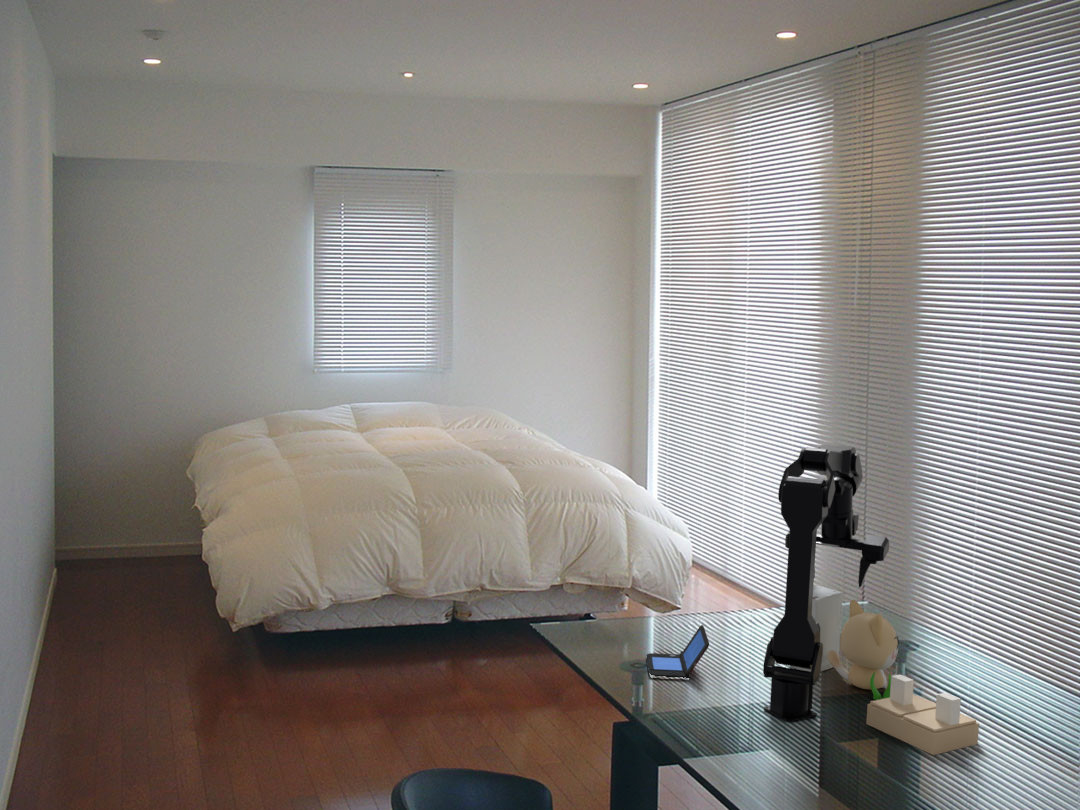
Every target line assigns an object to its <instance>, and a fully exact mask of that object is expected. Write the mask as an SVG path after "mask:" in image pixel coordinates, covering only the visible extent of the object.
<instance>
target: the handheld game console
mask: <svg viewBox="0 0 1080 810" xmlns="http://www.w3.org/2000/svg"><path fill="white" fill-rule="evenodd" d="M705 629H706V628H705V627H704V625H703V624H701V625H700V626H699V627H698V628H697V630H696V632H694V634H693V636H692V637H691V638H690V640H689V642H687V645H686V646H685V647H684V649H683V650H682V651H680V653H679V654H677V653H655V652H654V653H651V652H650V653H647V654H646V656H647V658H646V662H647V661H648V665H647V669H648V668H649V672H648V674H649V673H650V674H651V675H655V676H666V677H683V678H684V677H686V678H690V679H691V675H690V674H691V673H692V672H693V670H694V669H695V668H696V666H697V664H699V661H701V659H702V658H703V656H704V655H705V653H706V651H707V650H708V648H709V647H710V646H709V645H710V641H709V638H708V636H707V633H706V630H705Z"/></svg>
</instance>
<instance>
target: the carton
mask: <svg viewBox="0 0 1080 810" xmlns="http://www.w3.org/2000/svg"><path fill="white" fill-rule="evenodd" d="M866 725H868V726H870V727H872V728H874V729H876V730H878V731H880V732H883V733H885V734H887V735H889V736H892V737H894V738H896V739H898V740H900V741H902V742H905V743H907V744H909V745H911V746H913V747H915V748H918V749H919V750H921V751H924V752H926V753H928V754H930V755H931V756H935V755H939V754H944V753H946V752H947V753H948V752H951V751H955V750H961V749H964V748H968V747H971V746H973V747H974V746H976V745H978V744H979V730H980V723H979V722H977V721H976V723H972V724H968V725H963V726H959V727H955V728H950V729H946V730H942V731H937V732H933V731H931V730H929V729H926V728H924V727H922V726H920V725H917V724H915V723H913V722H910V721H908V720H906V719H904V718H903V716H902V717H899V716H897V715H895V714H892V713H890V712H888V711H886V710H883V709H881V708H879V707H876V706H874V705H872V704H870V703H867V709H866Z"/></svg>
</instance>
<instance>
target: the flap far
mask: <svg viewBox="0 0 1080 810" xmlns="http://www.w3.org/2000/svg"><path fill="white" fill-rule="evenodd" d="M914 681H915V680H914V679H913V678H910V677H908V676H905V675H902V674H896V675H894V674H893V675H891V688H890V698H885V699H879V700H876V699H874V700H871V701H870V703H869V704H872V705H874V706H876V707H879V708H881V709H883V710H886V711H888V712H890V713H892V714H895V715H897V716H899V717H902V716H904V715H908V714H913V713H918V712H922V711H927V710H932V709H936V702H933V701H931V700H928V699H926V698H924V697H921V696H919V695H916V694H915V693H914V686H915V685H914V683H915V682H914Z"/></svg>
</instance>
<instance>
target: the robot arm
mask: <svg viewBox="0 0 1080 810" xmlns="http://www.w3.org/2000/svg"><path fill="white" fill-rule="evenodd" d="M856 452H857V450H856V448H855V447H854V446H844V445H843V446H842V445H834V444H832V445H831V444H822V445H820V446H818V447H809V446H807V447H805V448H804V447H803V448H801V450H800V453H799V456H798V458H797V459H796V460H795V461H793V462H792V463H791V464H790V465H788V466H787V467H786V468H785V469H784V471H783V474H782V477H781V481H780V483H779V487H778V495H777V496H778V501H779V503H780V514H781V516H782V518H783V520H784V522H785V524H786V526H787V528H788V529H789V531H788V532H787V534H786V535H785V538H784V539H785V541H784V542H785V548H786V549H788V551H787V565H786V566H787V569H786V586H785V601H784V603H785V604H784V614H783V617H782V618H781V619H780V621H779V622H778V623H777V624H776V626H775V628H774V630H773V635H772V636H771V637H770V641H769V642H768V643H767V646H766V651H765V655H764V660H763V668H762V669H763V670H762V674H763V677H764V678H766V679H767V678H769V679H770V678H771V680H770V681H771V683H770V699H769V700H770V703H769V705H765V706H763V710H764V711H766V712H768V713H769V714H771V715H774V716H775V717H777V718H779V719H782V720H784V721H785V722H789V723H791V722H796V721H800V720H805V719H810V718H811V719H812V718H816V717H818V713H817V712H816V711H813V710H812V709H813V696H814V686H815V685H816V684H817V682H818V681H819V680H820V678H821V672H822V671H821V663H822V655H823V644H822V643H820V629H821V628H820V625H819V623H816V622H815V620H814V618H813V616H812V601H813V587H814V585H815V584H814V583H815V582H814V581H815V576H816V569H815V568H816V566H815V563H816V548H817V545H820V546H826V547H833V548H843V549H849V550H856V551H861V556H862V557H861V558H860V560H859V570H858V580H857V581H858V587H859V588H862V586H863V583H864V581H865V579H866V576H867V574H868V571H869V568H870V566H871V565H876V564H877V563H878V562H883V561H885V558H886V556H887V555H888V553H889V551H890V540H889V539H888V537H887V536H883V535H876V534H875V535H874V534H867V536H866V538H865V539H856V538H853V536H855V535H856V534H857V531H858V529H859V516H860V515H859V514H857V513H854V509H853V499H854V496H855V495H856V492H858V489H859V488H860V485H861V483H862V481H863V477H864V476H863V468H862V462H861V457H860V454H859V453H856ZM805 471H807V472H808V471H809V472H816V473H817V474H819V475H820V476H826V479H821V478H813V477H811V478H810V477H801V476H802V475H803V474H804V472H805ZM820 527H821V528H820ZM819 528H820V529H821V531H820V533H819V534H817V533H818V529H819ZM780 665H782V666H780ZM784 666H785V667H784ZM789 666H790V667H789ZM791 666H794V667H799V668H805V669H811V672H810V671H804V670H799V669H796V668H793V667H791ZM820 671H821V672H820Z"/></svg>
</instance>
